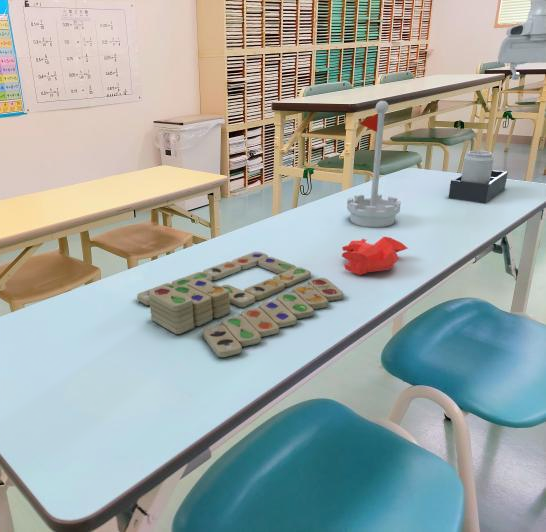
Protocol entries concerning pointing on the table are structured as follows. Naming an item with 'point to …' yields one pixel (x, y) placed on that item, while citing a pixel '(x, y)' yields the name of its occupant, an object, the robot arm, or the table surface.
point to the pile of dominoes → (238, 302)
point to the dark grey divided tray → (478, 188)
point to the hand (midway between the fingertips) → (533, 79)
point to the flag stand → (374, 184)
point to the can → (477, 167)
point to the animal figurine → (372, 255)
